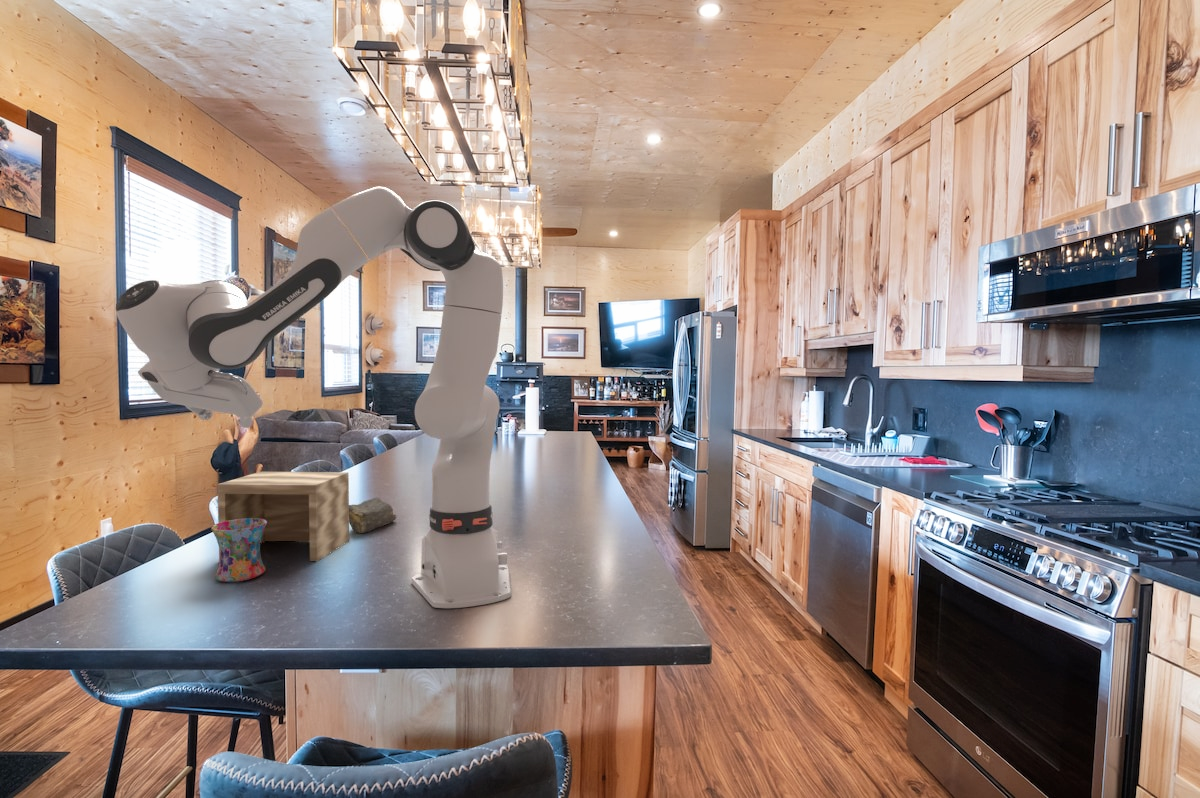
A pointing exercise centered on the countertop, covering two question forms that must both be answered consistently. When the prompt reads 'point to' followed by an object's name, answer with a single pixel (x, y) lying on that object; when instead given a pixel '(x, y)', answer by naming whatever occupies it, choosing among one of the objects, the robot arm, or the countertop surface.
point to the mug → (239, 549)
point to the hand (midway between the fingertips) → (227, 421)
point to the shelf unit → (292, 507)
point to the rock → (370, 515)
